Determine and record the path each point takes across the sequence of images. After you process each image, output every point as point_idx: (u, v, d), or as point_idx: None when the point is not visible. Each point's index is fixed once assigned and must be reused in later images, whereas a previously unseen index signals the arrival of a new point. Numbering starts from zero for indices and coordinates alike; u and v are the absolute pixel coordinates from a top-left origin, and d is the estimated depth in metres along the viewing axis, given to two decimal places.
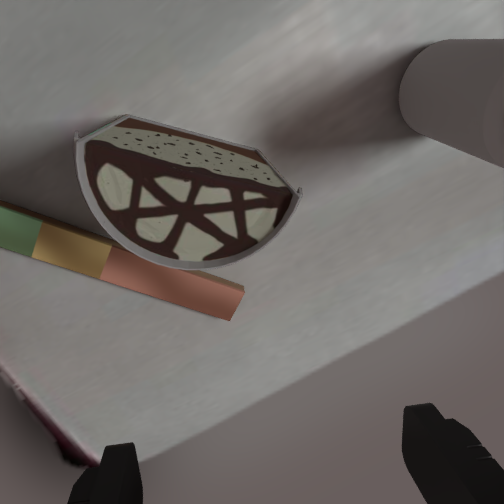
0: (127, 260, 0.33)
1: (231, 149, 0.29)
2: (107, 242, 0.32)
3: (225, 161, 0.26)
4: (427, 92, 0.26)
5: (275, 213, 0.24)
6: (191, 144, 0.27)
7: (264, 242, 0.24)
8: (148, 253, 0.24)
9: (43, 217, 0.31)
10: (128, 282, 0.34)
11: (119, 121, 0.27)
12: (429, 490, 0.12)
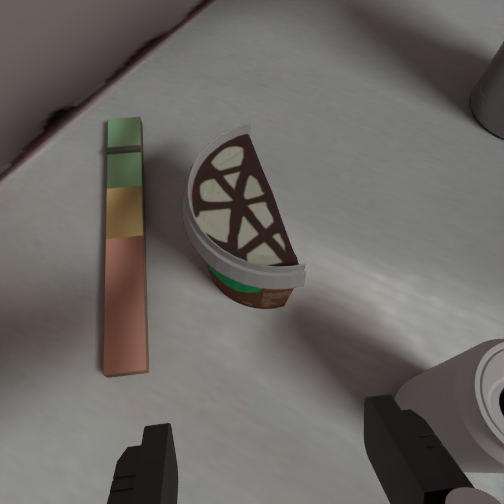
0: (134, 251, 0.35)
1: None
2: (143, 233, 0.36)
3: None
4: None
5: (277, 262, 0.26)
6: None
7: (250, 263, 0.25)
8: (190, 193, 0.28)
9: (143, 189, 0.39)
10: (111, 261, 0.35)
11: None
12: (385, 477, 0.12)
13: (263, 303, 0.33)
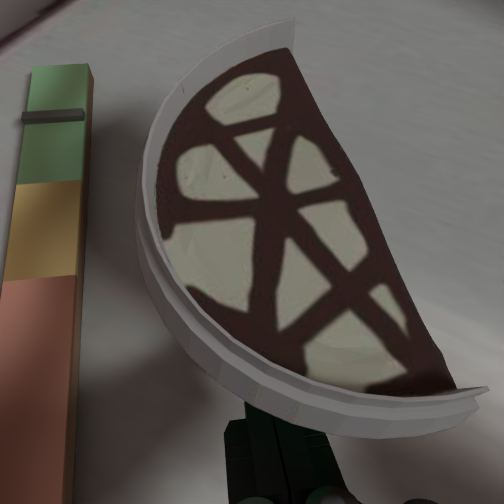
0: (55, 307, 0.18)
1: None
2: (78, 269, 0.19)
3: None
4: None
5: (394, 374, 0.09)
6: None
7: None
8: (152, 178, 0.11)
9: (86, 186, 0.22)
10: (8, 328, 0.17)
11: None
12: None
13: None
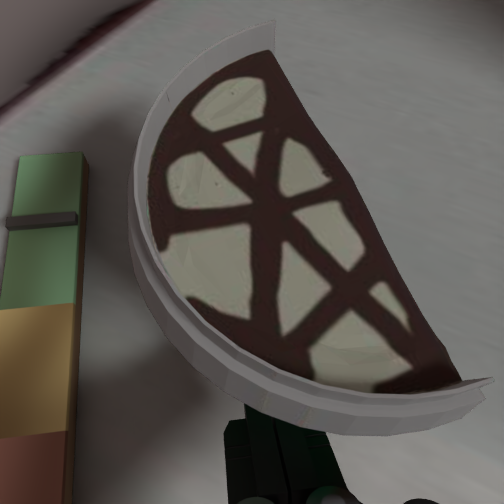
0: (42, 476, 0.15)
1: None
2: (69, 420, 0.16)
3: None
4: None
5: (400, 371, 0.09)
6: None
7: None
8: (144, 189, 0.11)
9: (79, 305, 0.19)
10: None
11: None
12: None
13: None
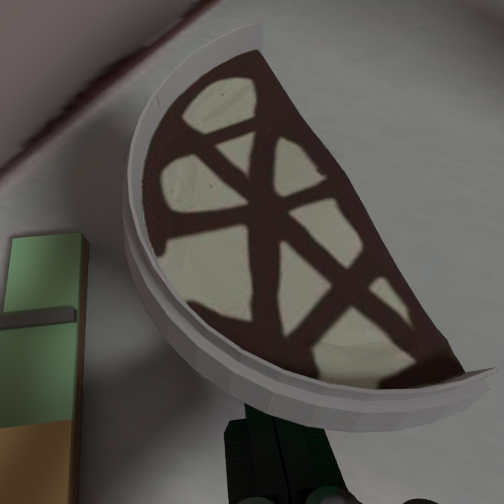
0: None
1: None
2: None
3: None
4: None
5: (403, 366, 0.09)
6: None
7: None
8: (138, 195, 0.11)
9: (78, 417, 0.17)
10: None
11: None
12: None
13: None
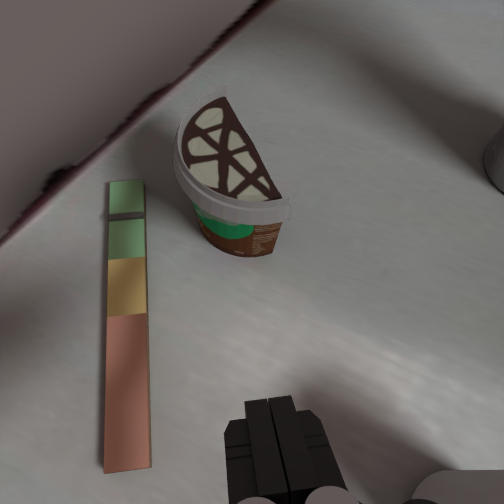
0: (136, 331, 0.33)
1: None
2: (146, 309, 0.35)
3: None
4: (452, 477, 0.26)
5: (264, 200, 0.29)
6: None
7: None
8: (180, 149, 0.31)
9: (146, 259, 0.37)
10: (112, 342, 0.33)
11: None
12: None
13: (254, 249, 0.36)
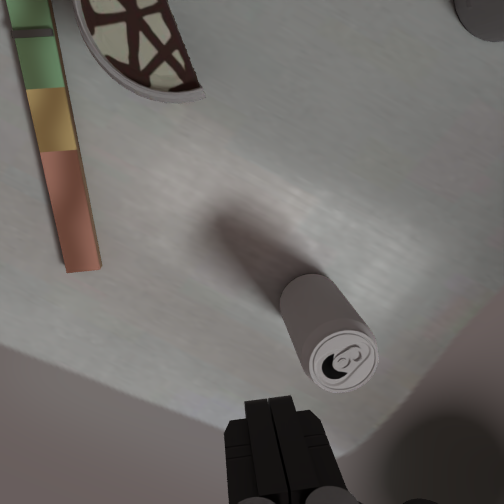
0: (71, 167, 0.37)
1: None
2: (76, 144, 0.37)
3: None
4: (307, 292, 0.40)
5: (178, 84, 0.29)
6: None
7: (154, 89, 0.28)
8: (79, 5, 0.26)
9: (66, 85, 0.36)
10: (51, 177, 0.37)
11: None
12: None
13: None
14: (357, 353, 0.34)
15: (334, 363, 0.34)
